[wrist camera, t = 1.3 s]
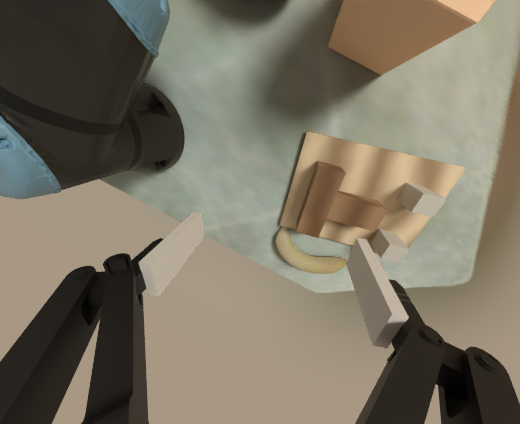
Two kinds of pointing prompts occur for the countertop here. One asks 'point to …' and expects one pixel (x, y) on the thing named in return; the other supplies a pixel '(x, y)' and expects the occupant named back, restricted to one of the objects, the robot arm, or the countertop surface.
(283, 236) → the fruit
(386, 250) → the posts
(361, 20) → the pump bottle
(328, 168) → the tee
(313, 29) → the countertop surface
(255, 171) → the countertop surface
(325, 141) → the board
